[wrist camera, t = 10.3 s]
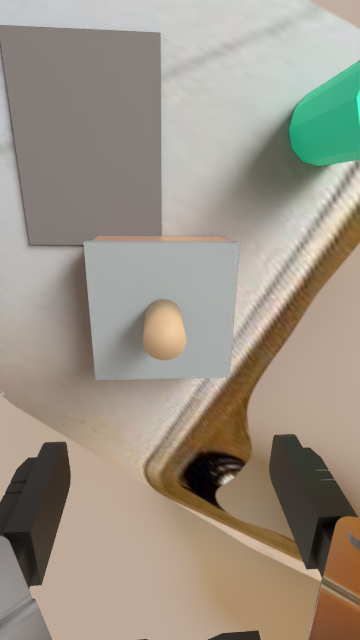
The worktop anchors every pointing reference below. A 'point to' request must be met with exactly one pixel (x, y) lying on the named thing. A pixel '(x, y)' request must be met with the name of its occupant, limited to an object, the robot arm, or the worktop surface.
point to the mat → (85, 131)
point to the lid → (161, 308)
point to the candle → (329, 121)
